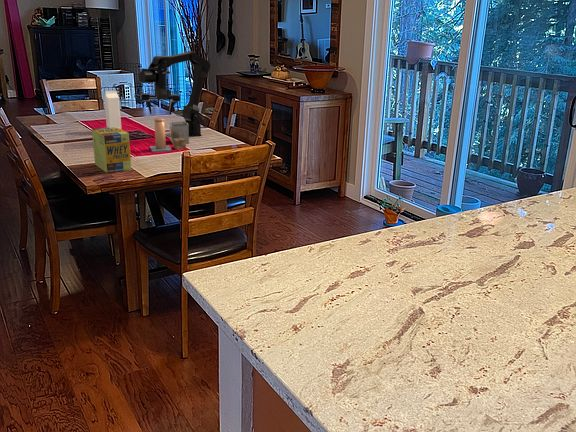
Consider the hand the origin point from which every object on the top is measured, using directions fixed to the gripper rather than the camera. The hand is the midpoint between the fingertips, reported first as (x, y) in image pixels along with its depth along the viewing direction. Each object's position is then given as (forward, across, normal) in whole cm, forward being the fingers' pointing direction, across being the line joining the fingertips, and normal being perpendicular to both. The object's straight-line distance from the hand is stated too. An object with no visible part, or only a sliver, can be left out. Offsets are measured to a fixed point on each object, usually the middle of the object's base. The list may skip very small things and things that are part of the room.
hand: (160, 114), depth 277 cm
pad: (+14, -2, -19) cm, 23 cm away
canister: (+13, -2, -19) cm, 23 cm away
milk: (+14, -21, +23) cm, 34 cm away
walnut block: (+13, +7, -18) cm, 23 cm away
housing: (+13, +9, -5) cm, 16 cm away
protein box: (+16, -24, -45) cm, 54 cm away
